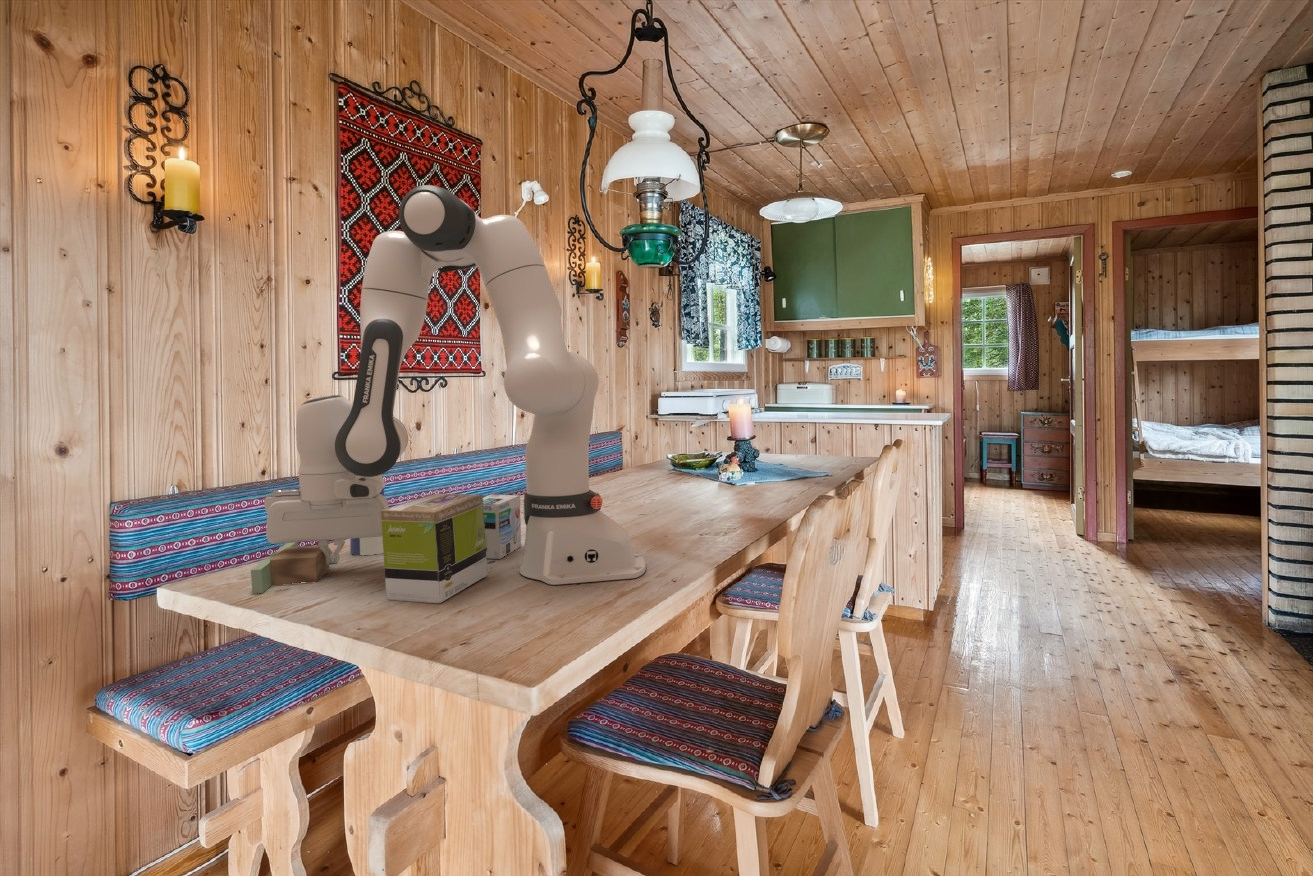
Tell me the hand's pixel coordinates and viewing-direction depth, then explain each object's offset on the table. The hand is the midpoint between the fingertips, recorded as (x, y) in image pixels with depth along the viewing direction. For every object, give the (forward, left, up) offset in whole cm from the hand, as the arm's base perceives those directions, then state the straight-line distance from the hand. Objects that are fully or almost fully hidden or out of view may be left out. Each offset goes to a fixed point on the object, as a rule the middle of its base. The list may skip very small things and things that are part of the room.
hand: (333, 563), depth 123 cm
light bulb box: (-27, -12, -2) cm, 29 cm away
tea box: (-22, +11, -2) cm, 24 cm away
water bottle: (-1, -15, -2) cm, 15 cm away
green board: (+9, +2, -2) cm, 9 cm away
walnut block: (+5, +2, -2) cm, 5 cm away
